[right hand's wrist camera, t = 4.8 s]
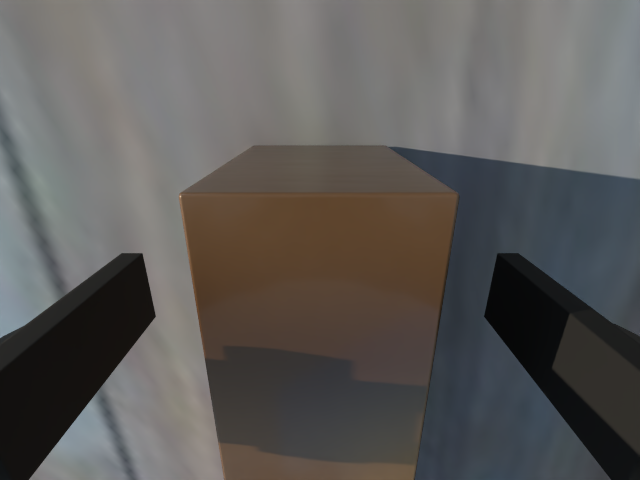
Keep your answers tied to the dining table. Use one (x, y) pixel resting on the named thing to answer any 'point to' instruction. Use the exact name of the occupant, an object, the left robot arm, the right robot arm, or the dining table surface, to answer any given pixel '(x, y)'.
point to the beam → (319, 307)
